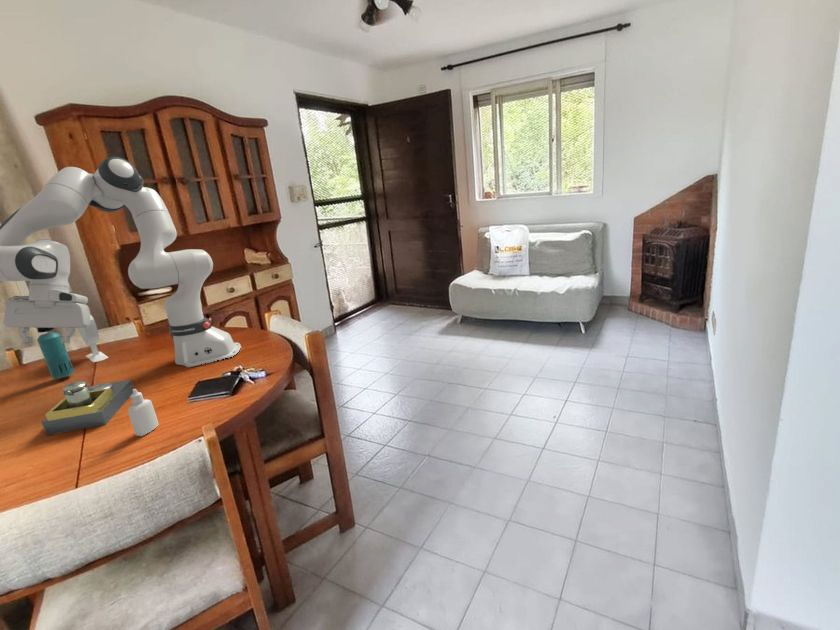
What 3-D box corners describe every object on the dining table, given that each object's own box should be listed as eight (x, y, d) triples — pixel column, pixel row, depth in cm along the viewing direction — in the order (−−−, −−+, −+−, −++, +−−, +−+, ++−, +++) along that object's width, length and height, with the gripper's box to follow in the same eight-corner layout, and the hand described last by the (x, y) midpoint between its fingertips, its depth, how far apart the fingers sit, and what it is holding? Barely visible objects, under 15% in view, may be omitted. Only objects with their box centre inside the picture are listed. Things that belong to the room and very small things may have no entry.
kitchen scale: (84, 399, 130) (78, 381, 128) (134, 390, 133) (129, 373, 131) (46, 435, 112) (38, 415, 110) (105, 424, 114) (98, 405, 112)
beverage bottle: (63, 382, 144) (41, 327, 137) (47, 382, 145) (25, 328, 139) (81, 374, 150) (61, 321, 143) (66, 373, 151) (46, 321, 145)
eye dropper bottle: (133, 432, 109) (119, 391, 105) (157, 422, 113) (144, 382, 109) (138, 438, 106) (123, 396, 102) (162, 428, 110) (149, 387, 106)
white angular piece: (110, 358, 162) (95, 314, 156) (94, 363, 159) (78, 318, 153) (99, 350, 172) (84, 308, 166) (84, 354, 168) (68, 312, 163)
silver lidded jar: (99, 407, 120) (88, 378, 117) (87, 420, 114) (75, 390, 111) (79, 411, 119) (68, 381, 116) (66, 424, 113) (53, 393, 110)
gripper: (-2, 294, 118) (-5, 343, 118) (82, 295, 123) (80, 343, 122) (15, 296, 125) (12, 343, 124) (94, 298, 129) (91, 343, 128)
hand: (46, 343), depth 123 cm, fingers open, 8 cm apart
